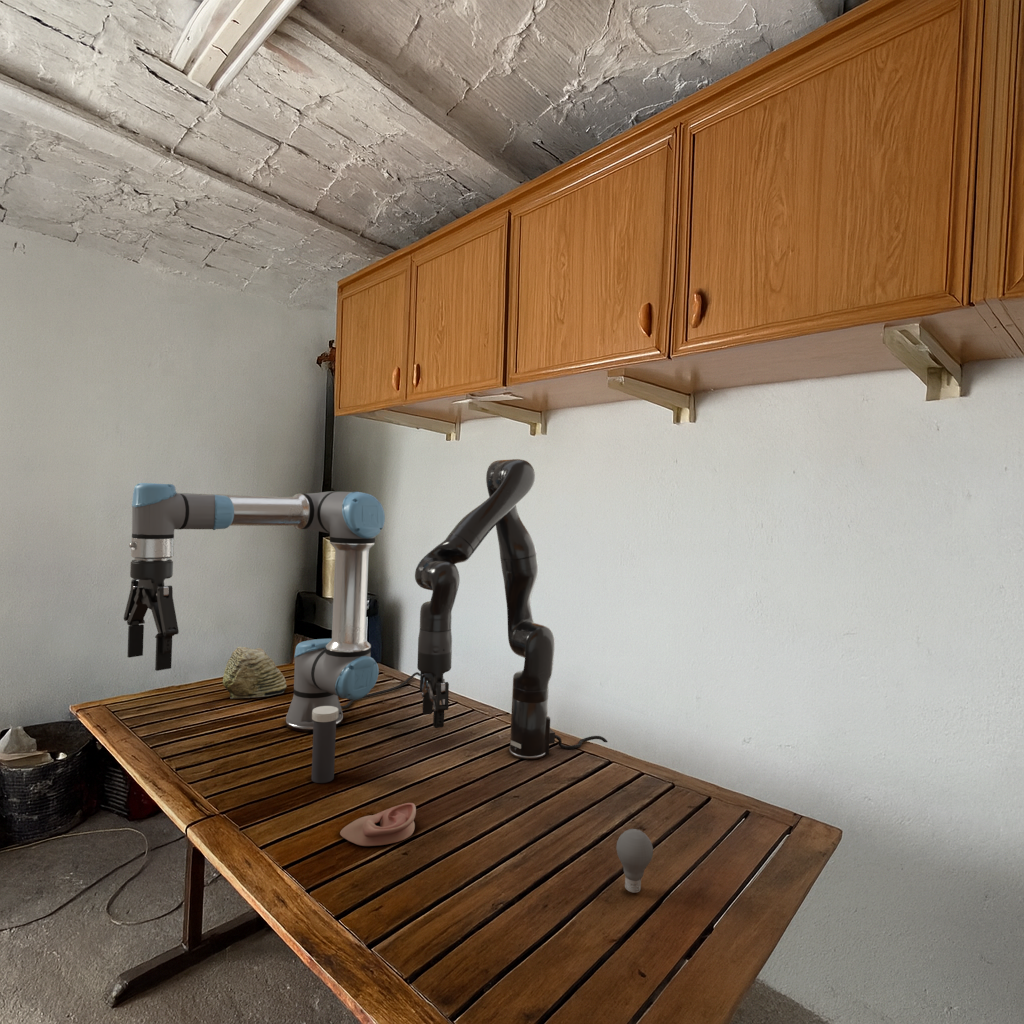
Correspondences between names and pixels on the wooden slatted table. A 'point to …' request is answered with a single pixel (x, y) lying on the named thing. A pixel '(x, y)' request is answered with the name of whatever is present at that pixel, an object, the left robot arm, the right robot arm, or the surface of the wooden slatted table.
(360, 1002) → the wooden slatted table surface
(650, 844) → the light bulb
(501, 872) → the wooden slatted table surface
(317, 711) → the lid
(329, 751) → the jar
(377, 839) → the anatomical model
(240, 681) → the fossil
